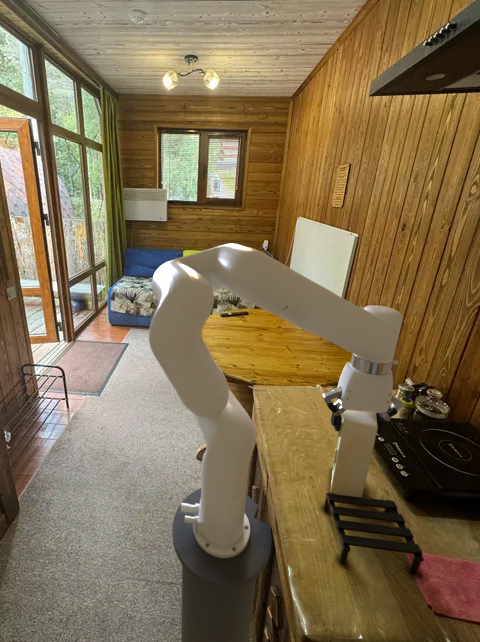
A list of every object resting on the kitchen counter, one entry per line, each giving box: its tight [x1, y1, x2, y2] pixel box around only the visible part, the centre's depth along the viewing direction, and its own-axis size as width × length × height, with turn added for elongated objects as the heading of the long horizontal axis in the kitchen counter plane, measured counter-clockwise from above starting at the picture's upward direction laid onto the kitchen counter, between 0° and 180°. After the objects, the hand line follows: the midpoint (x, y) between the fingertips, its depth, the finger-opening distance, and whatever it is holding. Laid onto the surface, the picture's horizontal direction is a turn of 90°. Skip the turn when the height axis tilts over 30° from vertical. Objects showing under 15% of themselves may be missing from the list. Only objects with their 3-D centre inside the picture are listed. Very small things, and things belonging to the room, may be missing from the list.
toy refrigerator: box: [330, 410, 378, 497], centre depth 73 cm, size 8×7×21 cm
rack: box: [323, 492, 425, 576], centre depth 63 cm, size 14×12×5 cm
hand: (356, 429), depth 71 cm, fingers closed on toy refrigerator, 8 cm apart
